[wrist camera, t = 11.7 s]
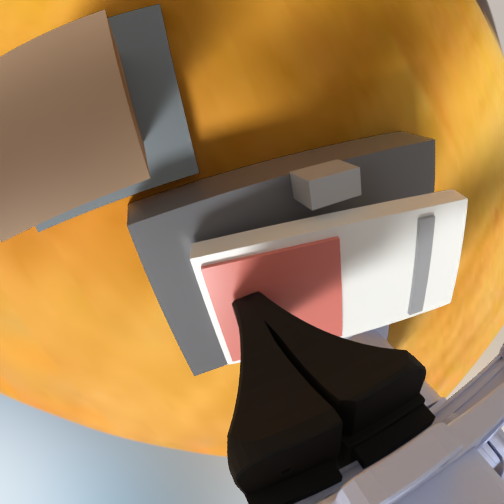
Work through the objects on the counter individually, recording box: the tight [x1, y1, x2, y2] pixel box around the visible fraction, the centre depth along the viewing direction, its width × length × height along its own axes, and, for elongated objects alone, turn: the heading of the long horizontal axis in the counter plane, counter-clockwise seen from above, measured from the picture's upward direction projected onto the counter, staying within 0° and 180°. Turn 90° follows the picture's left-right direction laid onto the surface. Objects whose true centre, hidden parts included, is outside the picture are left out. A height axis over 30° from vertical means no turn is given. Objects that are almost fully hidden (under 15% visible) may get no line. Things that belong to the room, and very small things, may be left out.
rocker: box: [190, 189, 468, 365], centre depth 14 cm, size 6×12×1 cm, turn 100°
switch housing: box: [127, 131, 435, 376], centre depth 16 cm, size 9×16×4 cm, turn 100°
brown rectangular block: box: [0, 10, 150, 242], centre depth 8 cm, size 4×4×7 cm
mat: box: [36, 4, 199, 232], centre depth 11 cm, size 8×8×1 cm
